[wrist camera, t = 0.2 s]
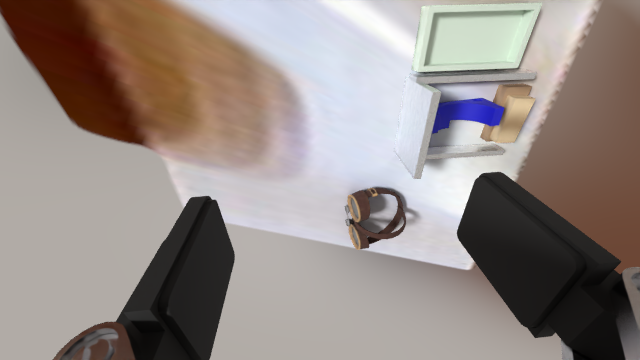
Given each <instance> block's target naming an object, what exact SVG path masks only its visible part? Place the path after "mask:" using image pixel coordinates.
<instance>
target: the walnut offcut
mask: <svg viewBox="0 0 640 360" xmlns="http://www.w3.org/2000/svg"><path fill="white" fill-rule="evenodd" d="M531 88H532V86H529V85H526V84H506V85H499V86H498V89H497V92H496V95H495V98H494V100H493V103H495V104H497V105H500V106H502V107H503V105H504V103H505V101H506V98H507V96H508V95H523V96H528V95H529V92H530V90H531ZM493 129H494V126H489V125H486V124H485V126H484V128H483V131H482V134H481V138H482V139H484V140H485V141H493V140H491V139H490V136H491V133H492V131H493Z"/></svg>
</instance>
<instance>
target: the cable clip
mask: <svg viewBox="0 0 640 360" xmlns="http://www.w3.org/2000/svg"><path fill="white" fill-rule="evenodd" d="M503 111H504V107H502V106H500V105H497V104H495V103H493V102H490V101H488V100H486V99H483V98H477V99H469V100H460V101H451V102H443V103H439V104H438V108H437V112H436V117H435V121H434V125H433V129H432V133H438V130H441V129H445V128H449V123H450V120H470V121H476V122H480V123H484V124H486V125H489V126H497V125H499V124H500V120H501V117H502V114H503Z"/></svg>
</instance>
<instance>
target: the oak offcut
mask: <svg viewBox="0 0 640 360" xmlns="http://www.w3.org/2000/svg"><path fill="white" fill-rule="evenodd" d="M534 101H535V98H532V97H529V96H523V95H508V96H507V98H506V101H505V103H504V105H503V107H504V111H503V114H502V117H501V120H500V124H499V125H497V126H494V129H493V131H492V133H491V136H490V139H491V140H493V141H495V142H496V143H511V142H515V140H516V138H517V136H518V134H519V132H520V130H521V127H522V125H523V123H524V121H525V119H526V117H527V115H528V113H529V111H530V109H531V107H532V105H533V103H534Z"/></svg>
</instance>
